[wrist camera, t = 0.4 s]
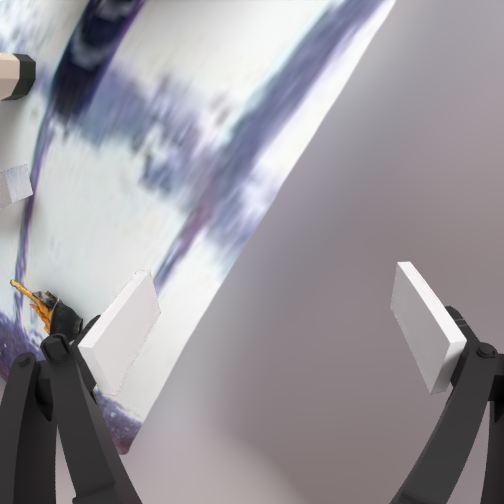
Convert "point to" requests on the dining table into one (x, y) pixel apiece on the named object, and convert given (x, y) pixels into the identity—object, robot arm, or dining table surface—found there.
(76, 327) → the fried shrimp in bowl
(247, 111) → the dining table surface
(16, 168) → the pull pin
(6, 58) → the wine bottle
